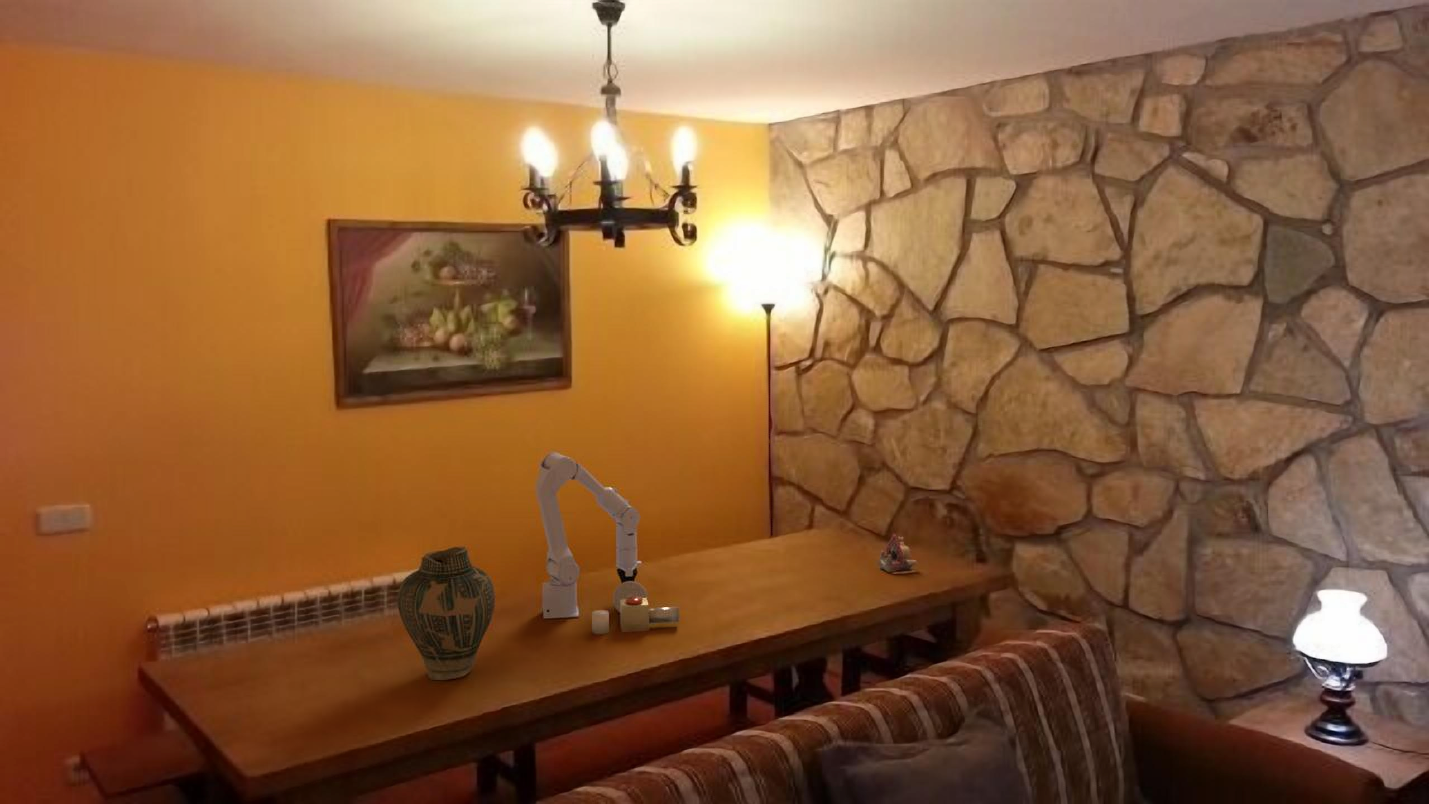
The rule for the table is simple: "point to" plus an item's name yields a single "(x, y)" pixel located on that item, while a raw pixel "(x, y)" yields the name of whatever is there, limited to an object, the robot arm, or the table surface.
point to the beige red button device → (643, 614)
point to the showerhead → (628, 592)
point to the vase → (447, 611)
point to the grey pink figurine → (896, 557)
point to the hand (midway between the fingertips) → (627, 594)
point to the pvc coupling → (600, 621)
